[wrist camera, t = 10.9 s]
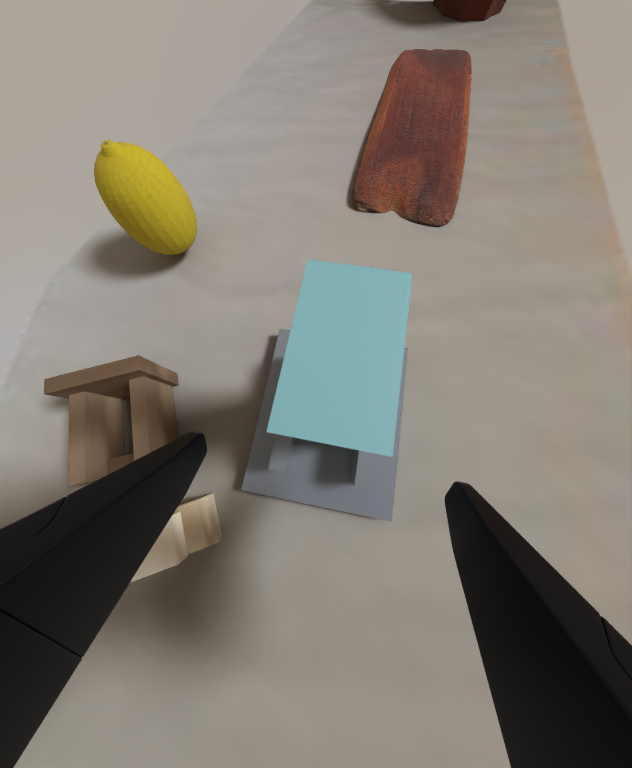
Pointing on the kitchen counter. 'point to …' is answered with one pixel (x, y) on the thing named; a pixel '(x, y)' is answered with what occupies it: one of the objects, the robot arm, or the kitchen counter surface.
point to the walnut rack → (115, 414)
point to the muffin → (469, 9)
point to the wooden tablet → (418, 139)
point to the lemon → (145, 198)
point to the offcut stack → (183, 536)
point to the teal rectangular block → (344, 358)
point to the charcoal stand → (320, 462)
